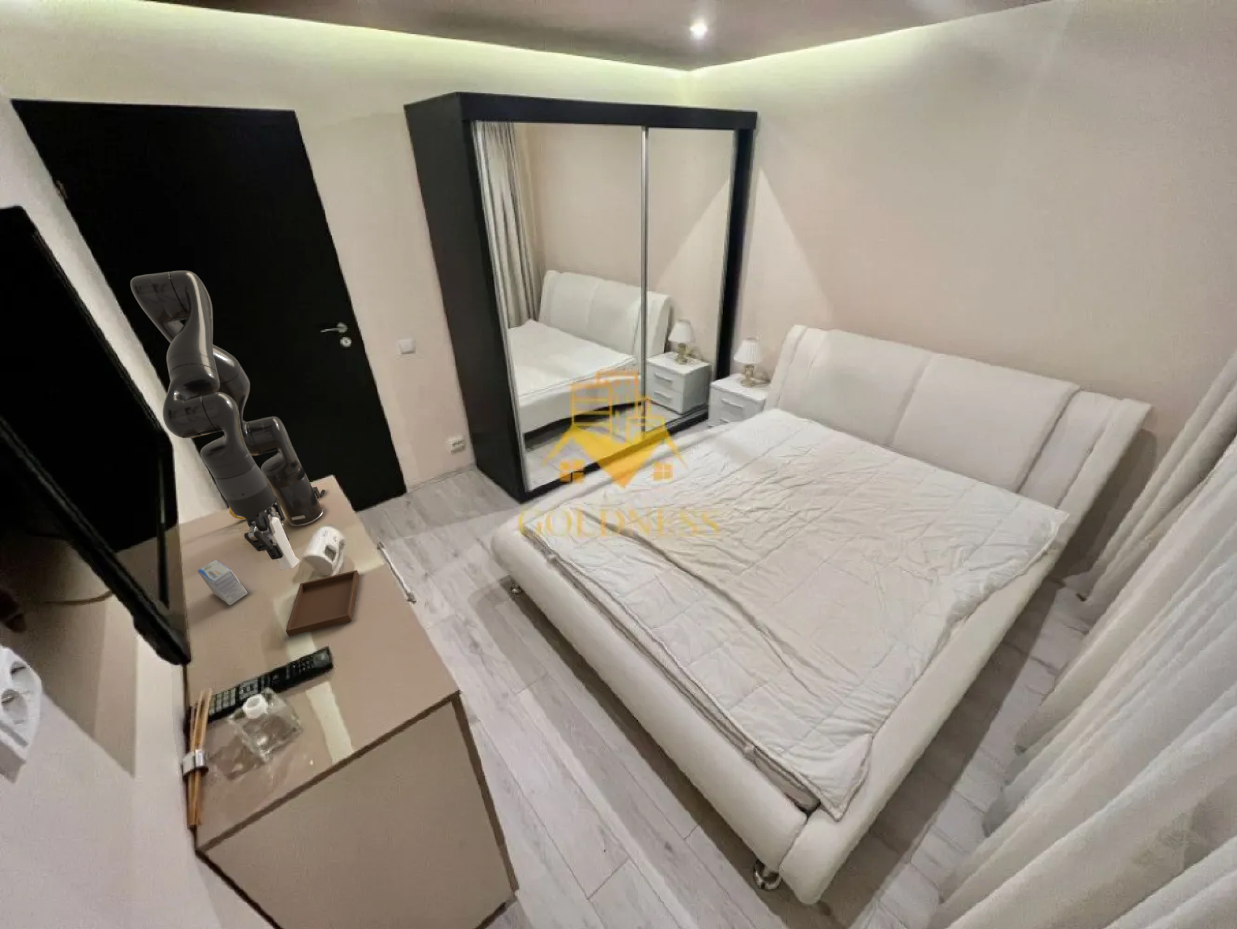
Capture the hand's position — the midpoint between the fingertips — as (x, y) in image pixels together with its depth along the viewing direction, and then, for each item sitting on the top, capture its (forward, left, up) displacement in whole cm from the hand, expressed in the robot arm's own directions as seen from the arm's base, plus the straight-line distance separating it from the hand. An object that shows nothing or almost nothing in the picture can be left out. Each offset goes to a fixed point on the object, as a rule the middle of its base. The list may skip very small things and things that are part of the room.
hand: (281, 549), depth 106 cm
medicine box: (-12, -21, -19) cm, 31 cm away
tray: (0, +3, -19) cm, 19 cm away
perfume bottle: (0, 0, -5) cm, 5 cm away
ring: (-46, -26, -19) cm, 56 cm away
